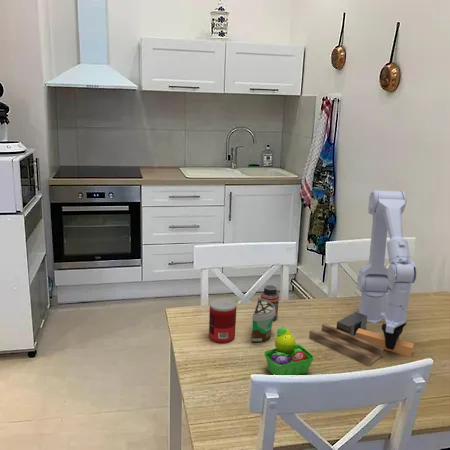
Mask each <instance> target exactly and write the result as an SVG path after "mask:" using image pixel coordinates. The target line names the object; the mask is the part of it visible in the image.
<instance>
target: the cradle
mask: <svg viewBox="0 0 450 450" xmlns="http://www.w3.org/2000/svg"><path fill="white" fill-rule="evenodd" d="M336 328H337V327H334V326H332V325H329V324H327V323H325V322H324V323H322V324H321V330H320V331H316V330H314V329H310V330H309V332H308V333H309V334H308V339H309V340H311V341H313V342H316V343H318V344H320V345H322V346H324V347H326V348H329V349H331V350H333V351H335V352H337V353H340V354H341V355H343V356H346V357H348V358H350V359H352V360H354V361H357V362H358V363H361V364H363V365H364V366H368V367H371V365H374V363H376V362H377V361H379V360H380V359H382V358H383V355H384V350H385V349H383V348H381V347H379V346H376V345H374V344H372V343H369V342H367V341H365V340H362V339H360V338H357V337H355V336H356V335H355V336H353V335H350V334H348V333H346V332H343V331H341V330H339V329H336Z"/></svg>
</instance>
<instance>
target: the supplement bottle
mask: <svg viewBox="0 0 450 450" xmlns="http://www.w3.org/2000/svg"><path fill="white" fill-rule="evenodd" d="M260 298H261V299H265V300H268V301H270V302H271V303H273V305H274V307H275V311H276V315H275V316H274V317H273V321H272V323H273V322H276V321H277V319H278V312H279V311H278V310H279V303H280V302H279V301H280V299H279V298H280V295H279V293H277V287H276V286H274V285H272V284H271V285H270V284H269V285H265V286H264V288H263V291H262V292H261V294H260Z"/></svg>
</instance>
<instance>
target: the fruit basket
mask: <svg viewBox="0 0 450 450" xmlns="http://www.w3.org/2000/svg"><path fill="white" fill-rule="evenodd" d="M296 343H297V342H296V339H295V337H294V335H293V334H292V333H291V330H289V329H288V328H286V327H284V326H281V327H279V328H278V329H277V332H276V337H275V339H274V345H275V348H272V349H267V350H265V351H264V352H263V353H264V357H265V359H266V363H267V369H268V371H270V373H271V374H272V375H273V374H275V375H296V376H299V375H304V374H307V373H308V371H309V368H310V367H311V364H312V361H313V360H314V358H315V356H314V355H313V354H311V352H310V351H308V350H307V349H306V348H305V347H304V346H303V345H301V344H300V343H299V344H296Z"/></svg>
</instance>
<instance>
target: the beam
mask: <svg viewBox="0 0 450 450" xmlns="http://www.w3.org/2000/svg"><path fill="white" fill-rule="evenodd" d="M358 312H359V311H355V312H353V313H351V314H350V315H347V316H345V317H344V318H342V319H339V320H338V321H337V322H336V327H335V328H336V329H339V330H341V331H343V332H346V333H348V334H350V335H353V336H356V332H357V330H358V329H359V328H360V329H364V330H367V323H368V321H367V316H366V315H363V314H361V313H358Z"/></svg>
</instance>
